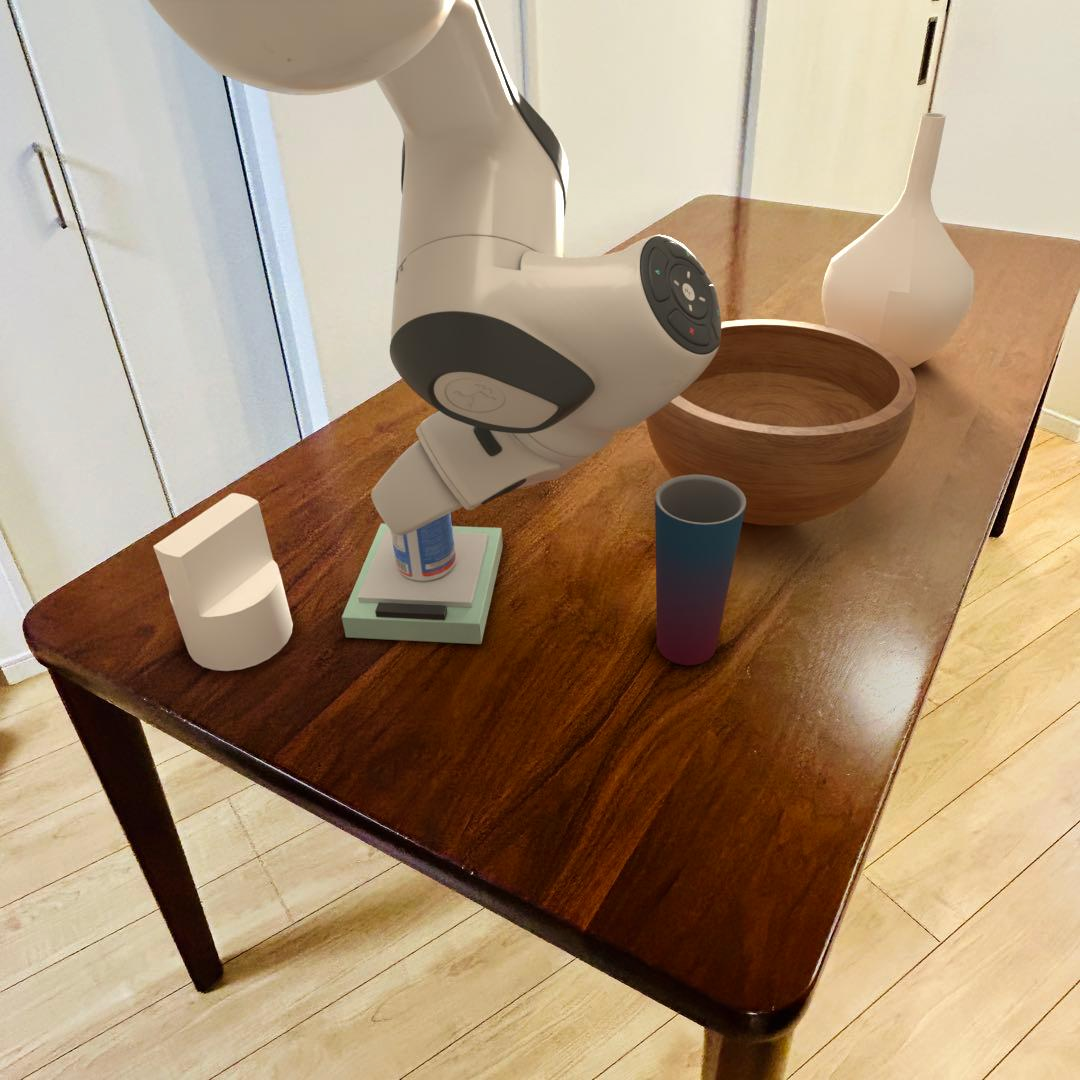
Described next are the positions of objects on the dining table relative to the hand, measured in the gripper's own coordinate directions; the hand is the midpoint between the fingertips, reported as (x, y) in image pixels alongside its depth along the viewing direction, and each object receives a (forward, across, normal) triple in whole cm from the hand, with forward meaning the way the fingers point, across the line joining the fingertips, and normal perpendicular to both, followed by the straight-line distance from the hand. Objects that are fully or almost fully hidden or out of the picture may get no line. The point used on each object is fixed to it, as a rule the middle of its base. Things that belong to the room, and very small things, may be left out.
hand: (453, 484), depth 73 cm
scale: (+13, 0, +6) cm, 15 cm away
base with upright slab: (+19, +15, +1) cm, 24 cm away
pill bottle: (+11, 0, +4) cm, 12 cm away
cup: (-2, -10, +22) cm, 24 cm away
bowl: (+2, -32, +17) cm, 37 cm away
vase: (+6, -74, +13) cm, 75 cm away
